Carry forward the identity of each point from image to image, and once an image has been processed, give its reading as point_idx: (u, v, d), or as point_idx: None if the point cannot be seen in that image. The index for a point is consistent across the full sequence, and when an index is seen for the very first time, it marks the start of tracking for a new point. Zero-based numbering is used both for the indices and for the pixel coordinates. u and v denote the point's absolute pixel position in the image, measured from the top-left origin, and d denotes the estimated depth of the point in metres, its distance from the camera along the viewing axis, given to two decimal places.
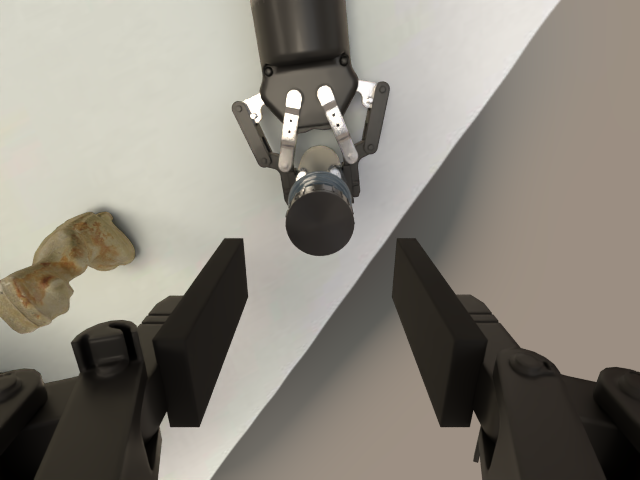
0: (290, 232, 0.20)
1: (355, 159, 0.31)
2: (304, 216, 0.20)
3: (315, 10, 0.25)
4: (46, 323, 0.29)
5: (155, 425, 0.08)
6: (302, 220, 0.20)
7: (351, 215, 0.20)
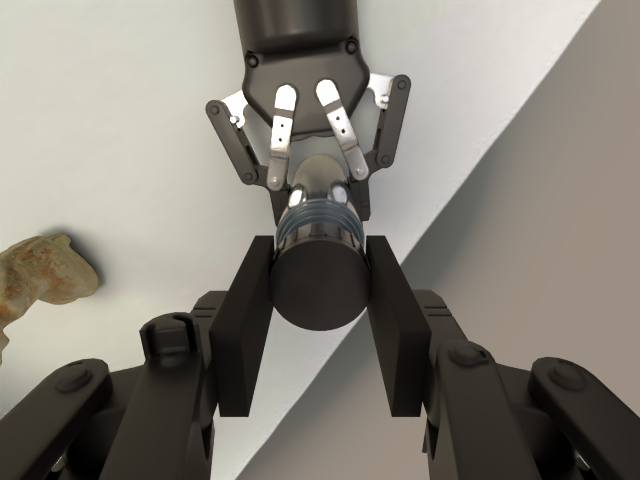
0: (275, 298, 0.13)
1: (365, 174, 0.24)
2: (296, 275, 0.13)
3: None
4: None
5: (211, 414, 0.08)
6: (293, 282, 0.13)
7: (368, 274, 0.13)
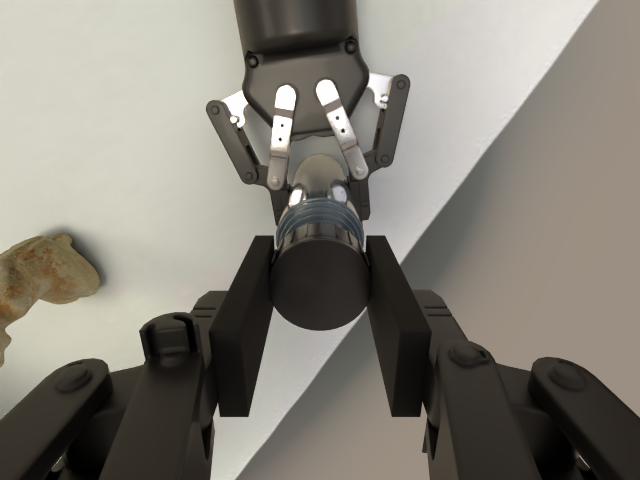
0: (362, 303, 0.13)
1: (365, 174, 0.25)
2: (329, 308, 0.13)
3: None
4: None
5: (211, 413, 0.08)
6: (336, 305, 0.13)
7: (272, 271, 0.13)
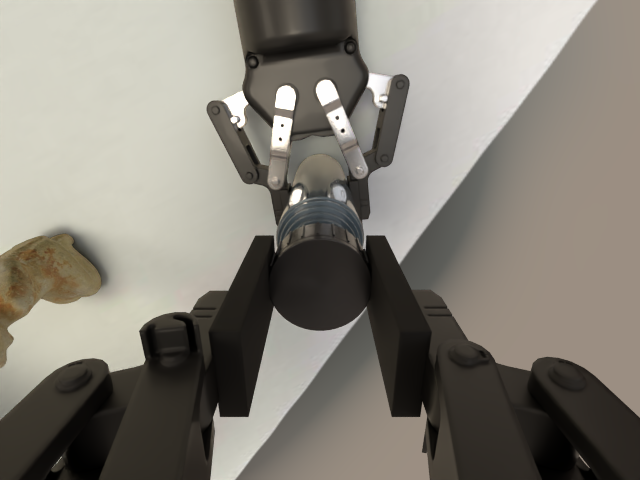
0: (296, 249, 0.12)
1: (364, 173, 0.25)
2: (328, 263, 0.13)
3: None
4: None
5: (211, 413, 0.08)
6: (320, 262, 0.13)
7: (344, 323, 0.14)
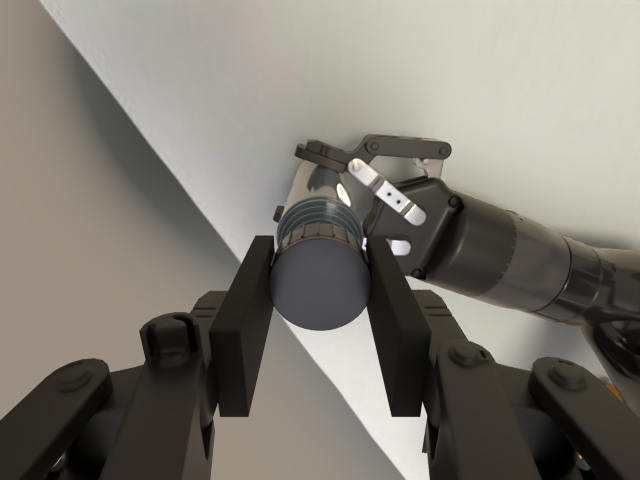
0: (297, 249, 0.12)
1: None
2: (328, 264, 0.13)
3: (477, 280, 0.25)
4: None
5: (211, 413, 0.08)
6: (320, 262, 0.13)
7: (343, 323, 0.14)
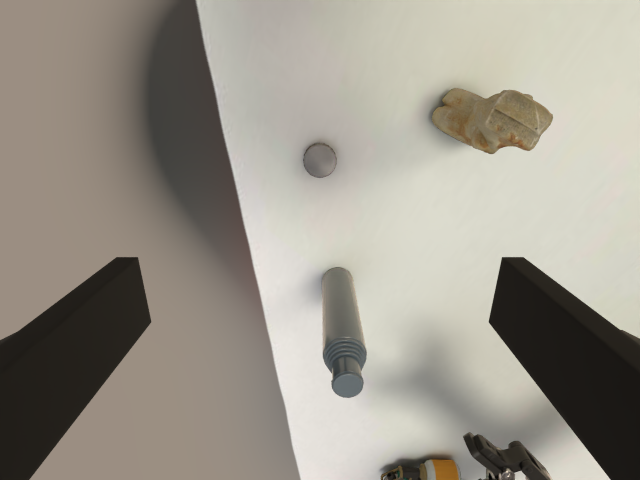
0: (312, 148, 0.41)
1: None
2: (322, 153, 0.42)
3: None
4: (488, 120, 0.28)
5: None
6: (320, 153, 0.42)
7: (327, 174, 0.42)
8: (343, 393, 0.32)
